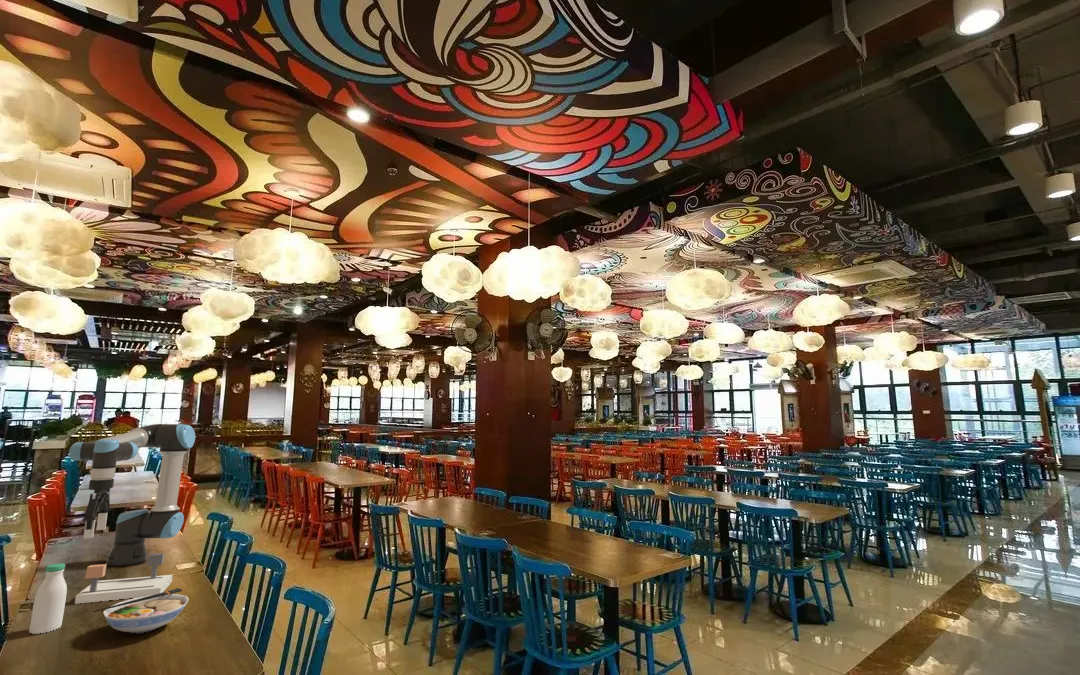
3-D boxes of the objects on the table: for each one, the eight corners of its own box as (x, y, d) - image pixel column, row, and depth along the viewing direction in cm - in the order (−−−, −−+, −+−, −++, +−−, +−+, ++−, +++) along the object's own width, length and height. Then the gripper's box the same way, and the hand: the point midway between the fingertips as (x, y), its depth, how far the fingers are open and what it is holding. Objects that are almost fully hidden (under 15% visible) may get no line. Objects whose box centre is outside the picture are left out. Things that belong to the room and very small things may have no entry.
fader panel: (94, 588, 204) (95, 580, 204) (171, 582, 214) (172, 574, 215) (74, 604, 188) (76, 595, 188) (159, 596, 198) (160, 587, 198)
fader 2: (147, 576, 210) (150, 554, 211) (161, 575, 212) (164, 553, 213) (144, 579, 207) (147, 555, 209) (159, 577, 209) (162, 554, 211)
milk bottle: (67, 627, 168) (77, 563, 171) (37, 636, 160) (49, 569, 164) (52, 623, 170) (62, 560, 173) (22, 632, 163) (34, 566, 166)
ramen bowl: (111, 652, 151) (116, 622, 152) (82, 633, 163) (87, 606, 164) (202, 625, 172) (205, 599, 173) (171, 610, 184) (174, 586, 185)
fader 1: (86, 590, 193) (90, 565, 194) (102, 588, 195) (106, 564, 196) (83, 592, 190) (87, 567, 192) (99, 591, 192) (103, 566, 193)
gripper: (101, 474, 214) (94, 527, 211) (77, 483, 191) (69, 542, 188) (123, 474, 217) (116, 525, 214) (103, 482, 194) (95, 540, 191)
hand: (94, 533), depth 201 cm, fingers open, 13 cm apart
